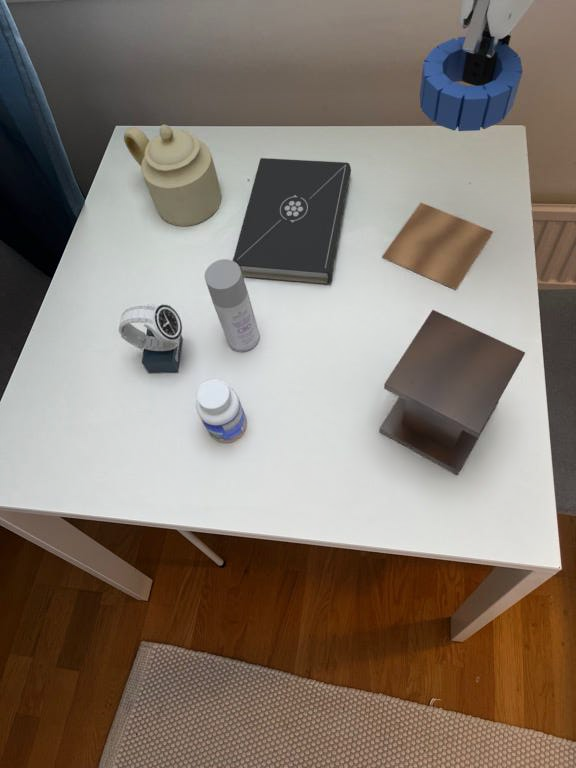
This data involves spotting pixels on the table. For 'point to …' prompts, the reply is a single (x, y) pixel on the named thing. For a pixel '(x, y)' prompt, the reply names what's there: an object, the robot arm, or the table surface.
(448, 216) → the mat
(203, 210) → the sugar bowl
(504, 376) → the platform
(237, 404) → the pill bottle
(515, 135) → the table surface
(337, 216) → the book
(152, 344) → the watch
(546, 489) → the table surface
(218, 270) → the container
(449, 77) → the ring
